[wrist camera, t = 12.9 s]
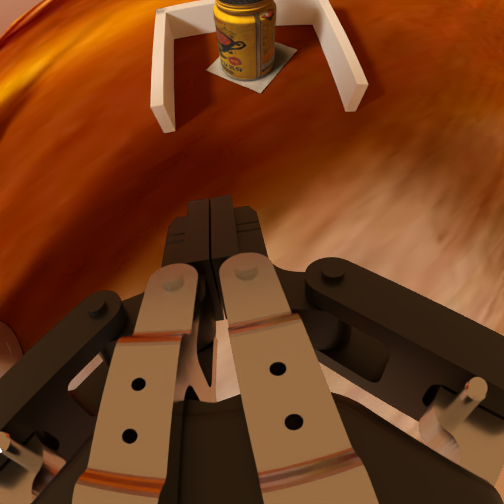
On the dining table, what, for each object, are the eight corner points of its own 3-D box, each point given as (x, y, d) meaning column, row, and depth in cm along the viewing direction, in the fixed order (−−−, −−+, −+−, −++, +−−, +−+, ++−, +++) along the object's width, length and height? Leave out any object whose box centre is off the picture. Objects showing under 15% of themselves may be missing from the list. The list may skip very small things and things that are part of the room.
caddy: (164, 133, 31) (150, 107, 26) (165, 35, 33) (156, 9, 28) (355, 111, 31) (368, 84, 26) (318, 19, 33) (323, -8, 29)
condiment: (205, 71, 32) (188, -8, 20) (245, 31, 33) (242, -43, 21) (260, 94, 31) (261, 10, 20) (297, 51, 32) (307, -26, 21)
